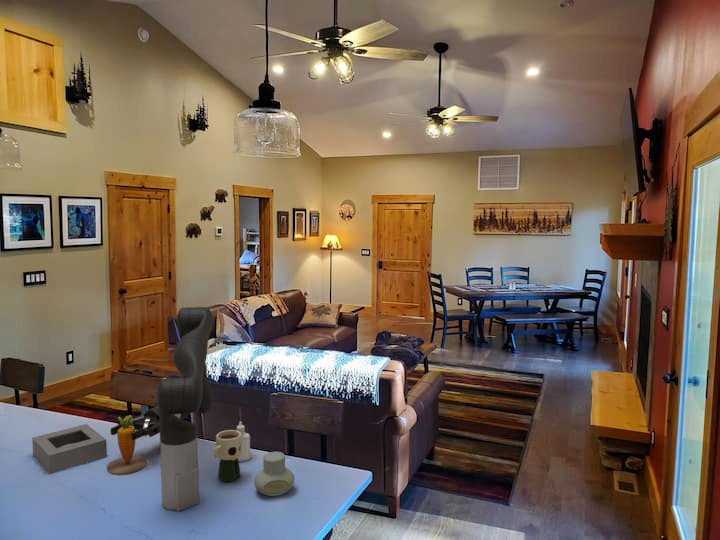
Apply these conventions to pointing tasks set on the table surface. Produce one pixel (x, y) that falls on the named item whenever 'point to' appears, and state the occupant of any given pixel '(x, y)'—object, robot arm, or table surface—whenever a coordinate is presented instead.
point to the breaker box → (69, 448)
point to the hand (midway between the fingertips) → (121, 434)
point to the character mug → (228, 454)
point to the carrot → (126, 439)
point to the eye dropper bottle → (244, 443)
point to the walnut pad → (127, 465)
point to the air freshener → (274, 475)
